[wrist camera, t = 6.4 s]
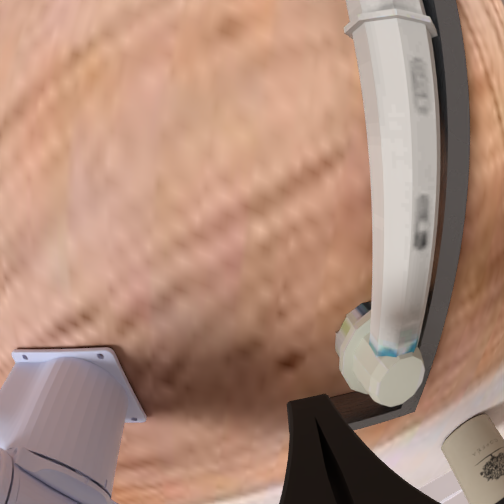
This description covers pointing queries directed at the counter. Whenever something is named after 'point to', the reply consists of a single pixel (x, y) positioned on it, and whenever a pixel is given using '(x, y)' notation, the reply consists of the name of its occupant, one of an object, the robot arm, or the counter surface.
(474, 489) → the travel mug
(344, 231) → the counter surface
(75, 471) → the robot arm
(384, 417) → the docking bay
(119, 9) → the counter surface
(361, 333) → the white handheld device
